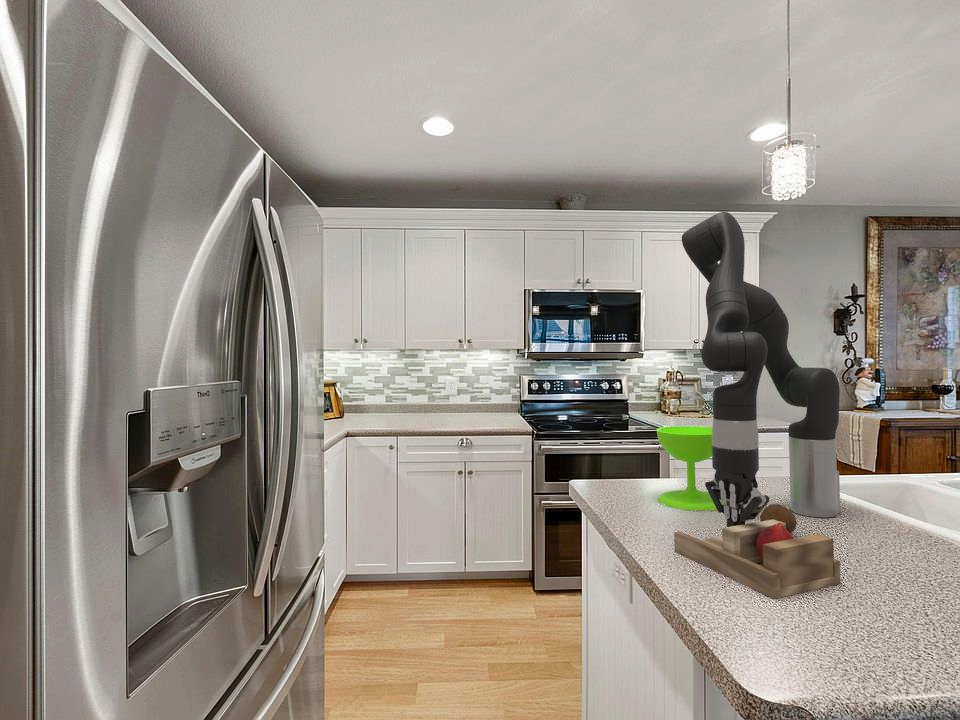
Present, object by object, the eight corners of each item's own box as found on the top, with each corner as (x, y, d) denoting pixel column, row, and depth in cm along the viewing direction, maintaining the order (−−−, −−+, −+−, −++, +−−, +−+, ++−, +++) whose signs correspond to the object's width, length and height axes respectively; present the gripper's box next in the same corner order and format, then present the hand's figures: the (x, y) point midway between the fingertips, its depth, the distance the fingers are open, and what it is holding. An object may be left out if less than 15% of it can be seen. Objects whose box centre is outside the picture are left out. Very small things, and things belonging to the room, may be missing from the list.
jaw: (774, 551, 95) (773, 519, 95) (786, 556, 93) (785, 523, 93) (723, 561, 91) (722, 527, 91) (734, 567, 89) (733, 532, 89)
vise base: (732, 540, 106) (731, 504, 106) (840, 583, 85) (839, 538, 85) (674, 551, 101) (673, 513, 101) (774, 598, 81) (772, 551, 81)
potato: (793, 529, 112) (792, 499, 112) (800, 544, 103) (800, 512, 103) (758, 526, 115) (757, 497, 115) (762, 541, 106) (761, 509, 106)
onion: (760, 573, 87) (765, 527, 85) (749, 555, 92) (755, 512, 91) (799, 578, 86) (805, 532, 84) (786, 560, 91) (792, 516, 90)
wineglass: (697, 514, 124) (695, 436, 124) (644, 499, 138) (643, 429, 138) (740, 503, 132) (738, 430, 132) (686, 490, 146) (684, 424, 146)
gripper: (782, 448, 91) (783, 550, 91) (723, 436, 103) (724, 526, 104) (748, 452, 88) (749, 556, 89) (691, 439, 101) (693, 531, 101)
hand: (736, 540), depth 96 cm, fingers closed
